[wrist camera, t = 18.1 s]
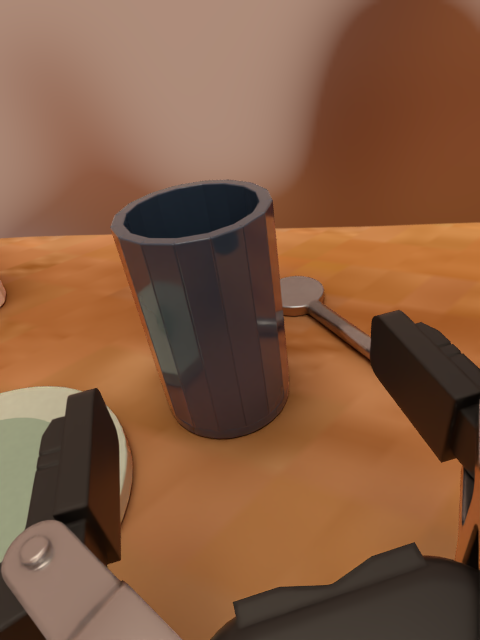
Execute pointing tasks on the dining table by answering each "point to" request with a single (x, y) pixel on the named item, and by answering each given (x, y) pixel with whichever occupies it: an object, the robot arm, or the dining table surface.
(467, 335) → the dining table surface
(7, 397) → the side plate
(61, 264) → the dining table surface
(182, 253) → the tumbler
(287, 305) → the spoon
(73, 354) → the dining table surface
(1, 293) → the white cup
